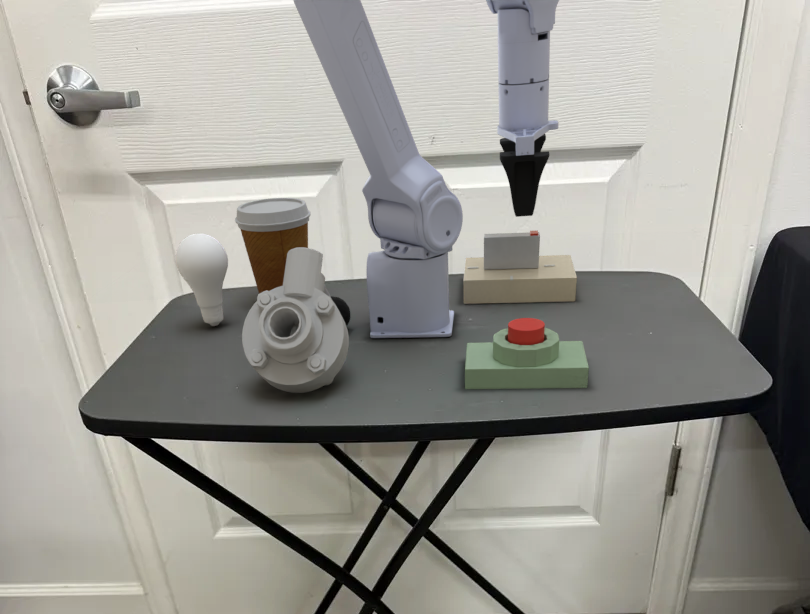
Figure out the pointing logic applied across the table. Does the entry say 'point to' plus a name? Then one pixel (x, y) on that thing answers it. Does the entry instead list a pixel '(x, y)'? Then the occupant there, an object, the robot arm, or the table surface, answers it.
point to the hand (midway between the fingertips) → (523, 207)
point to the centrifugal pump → (298, 328)
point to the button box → (526, 364)
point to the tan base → (520, 282)
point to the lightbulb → (204, 273)
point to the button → (526, 331)
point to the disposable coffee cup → (272, 236)
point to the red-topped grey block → (511, 250)
